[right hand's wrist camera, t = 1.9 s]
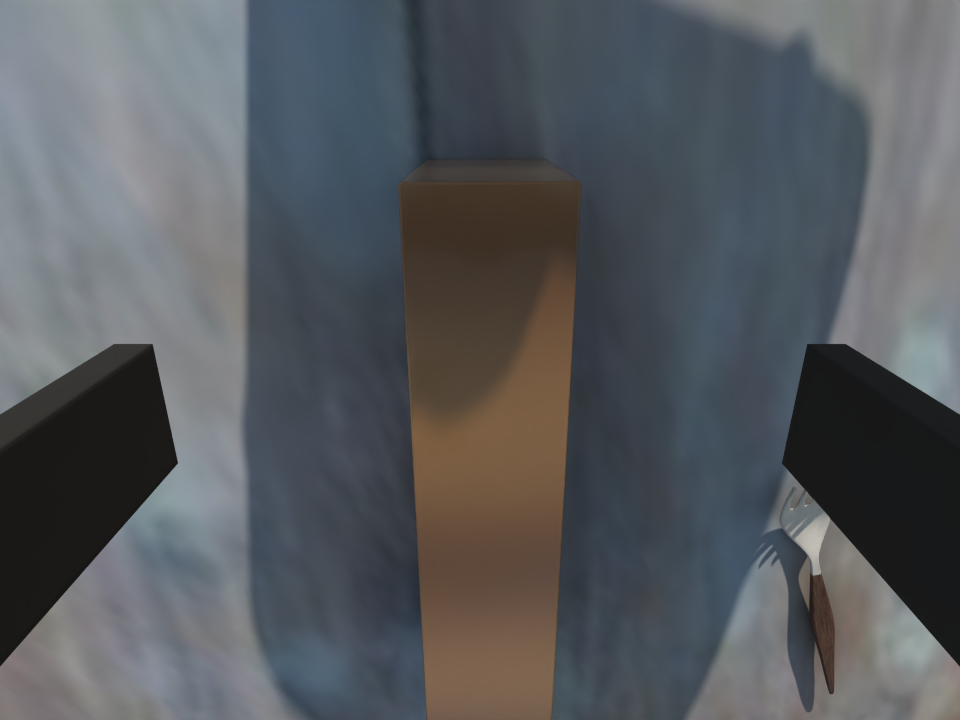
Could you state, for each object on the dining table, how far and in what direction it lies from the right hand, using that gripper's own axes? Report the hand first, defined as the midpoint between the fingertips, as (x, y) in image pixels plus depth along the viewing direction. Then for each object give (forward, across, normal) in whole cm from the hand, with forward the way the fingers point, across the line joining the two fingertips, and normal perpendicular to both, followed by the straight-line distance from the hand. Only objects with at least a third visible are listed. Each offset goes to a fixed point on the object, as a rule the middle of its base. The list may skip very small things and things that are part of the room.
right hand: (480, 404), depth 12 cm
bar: (+15, 0, -9) cm, 17 cm away
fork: (+15, +18, -18) cm, 29 cm away
